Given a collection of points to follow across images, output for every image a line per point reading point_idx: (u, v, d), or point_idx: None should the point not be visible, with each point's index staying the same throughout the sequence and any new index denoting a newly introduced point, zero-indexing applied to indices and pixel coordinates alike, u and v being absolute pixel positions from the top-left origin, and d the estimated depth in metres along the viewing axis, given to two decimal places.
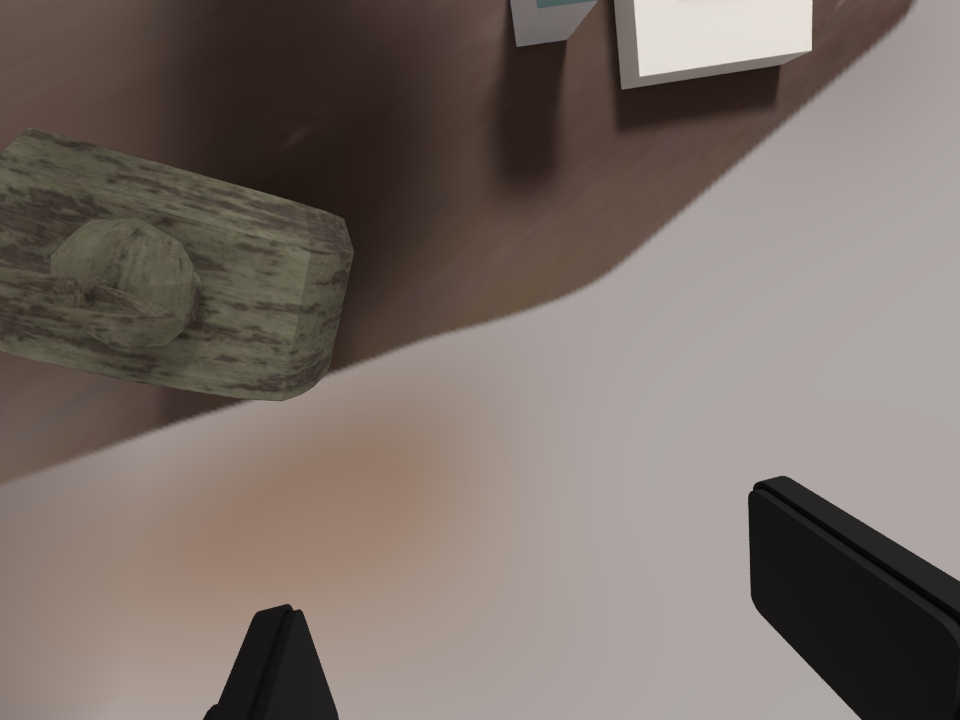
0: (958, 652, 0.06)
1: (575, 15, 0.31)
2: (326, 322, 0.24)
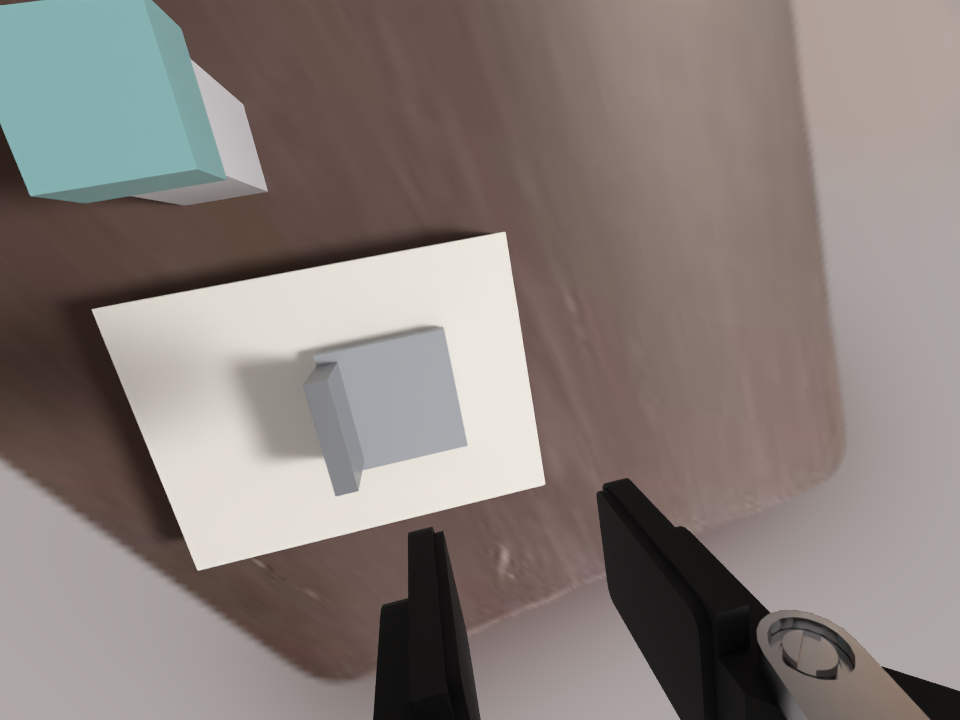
0: (697, 632, 0.07)
1: None
2: None
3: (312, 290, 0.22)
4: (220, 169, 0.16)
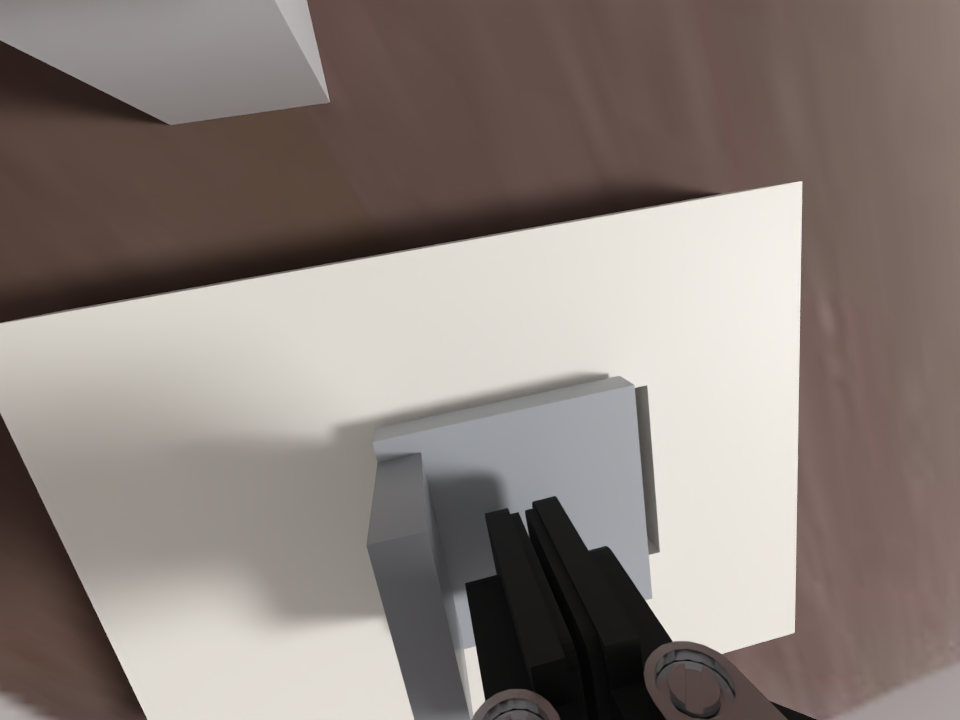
0: (589, 663, 0.07)
1: None
2: None
3: (427, 293, 0.11)
4: None
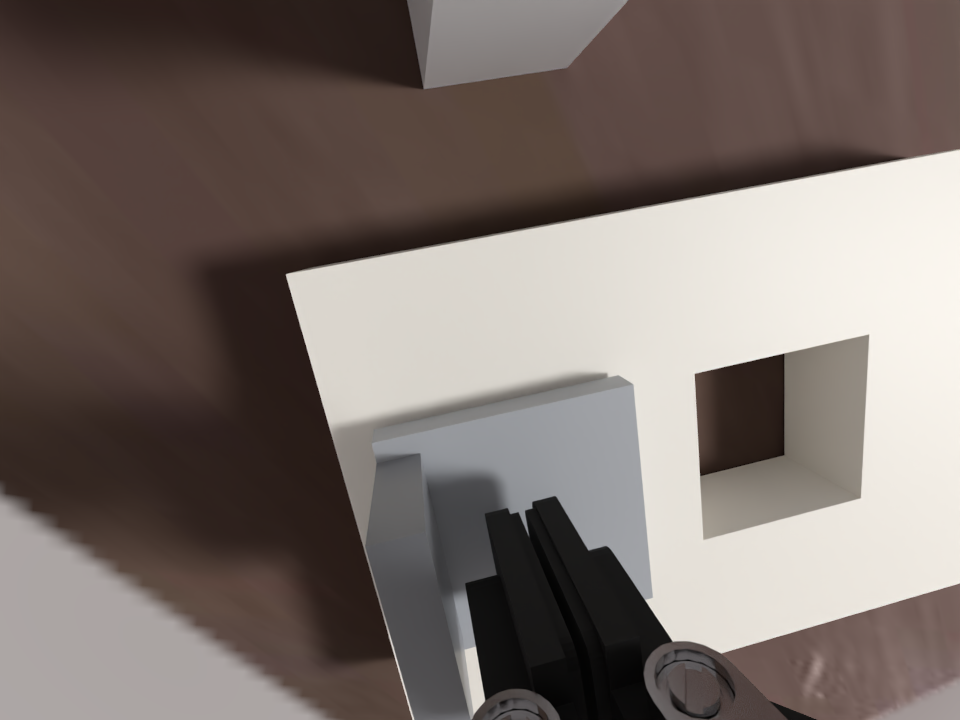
0: (589, 663, 0.07)
1: None
2: None
3: (689, 242, 0.11)
4: None
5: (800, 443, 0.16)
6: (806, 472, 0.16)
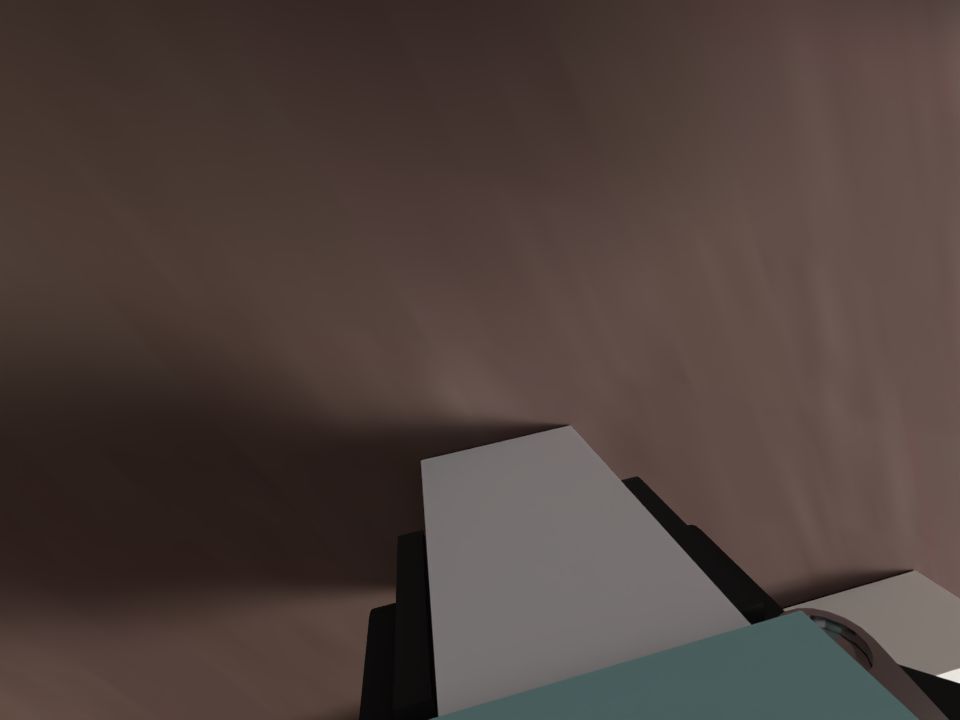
0: None
1: None
2: None
3: None
4: None
5: None
6: None
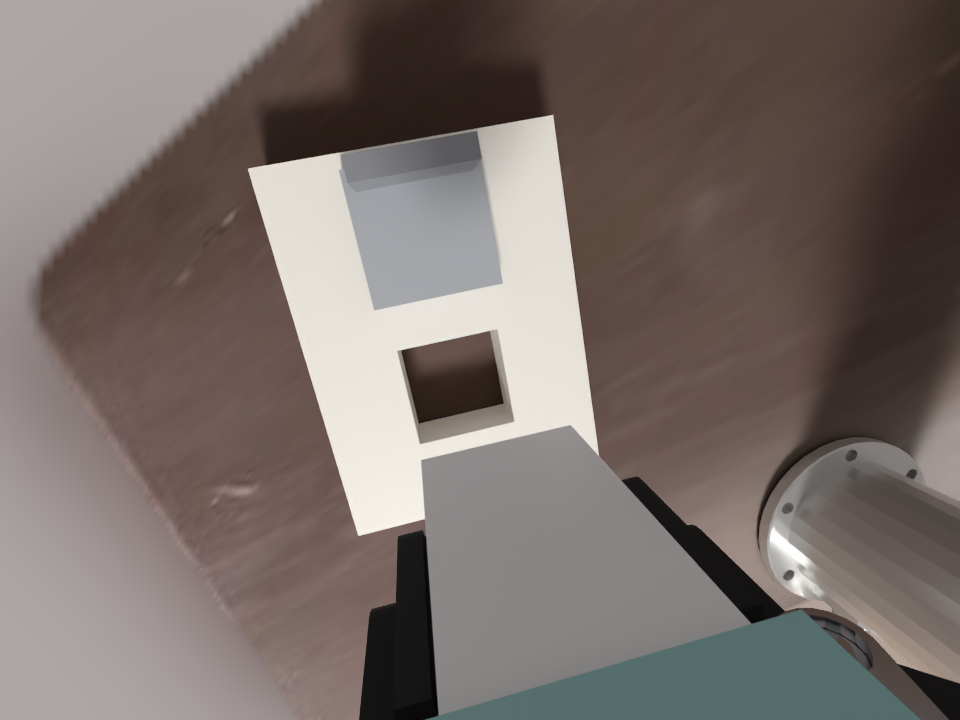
0: None
1: None
2: None
3: (561, 316, 0.24)
4: None
5: (432, 424, 0.27)
6: (418, 427, 0.26)
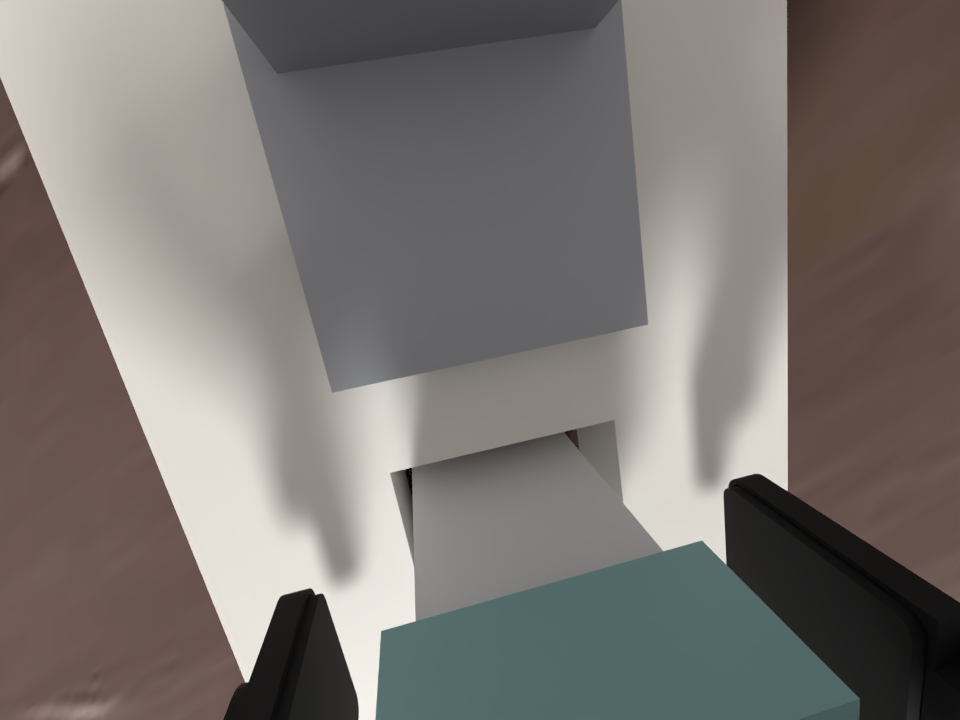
0: (911, 642, 0.06)
1: None
2: None
3: (749, 389, 0.11)
4: None
5: None
6: None
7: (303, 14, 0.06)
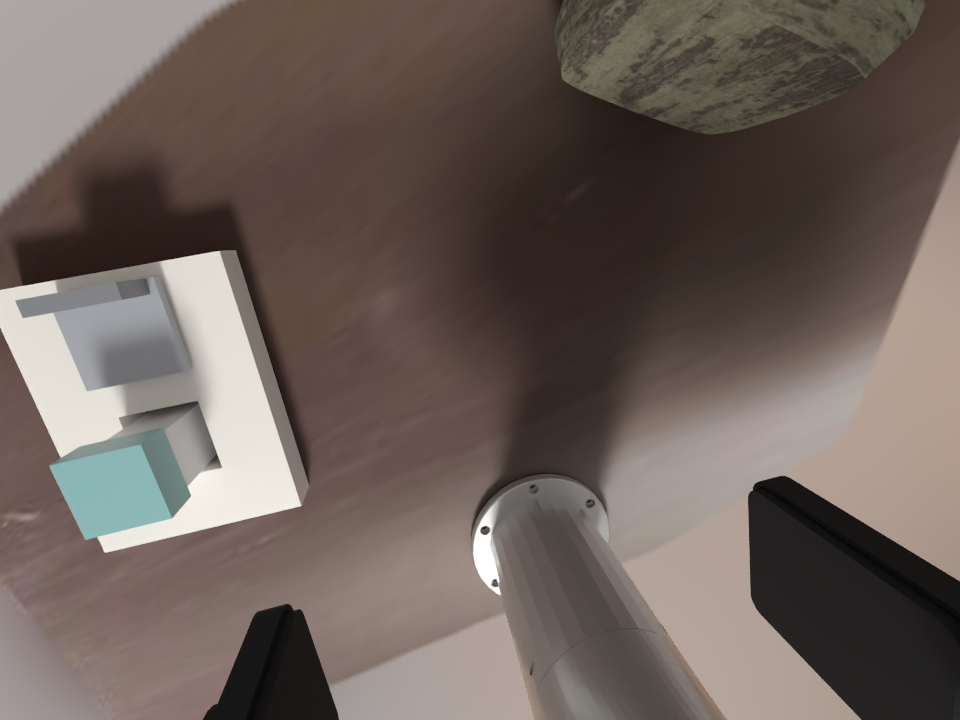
0: (958, 652, 0.06)
1: None
2: None
3: (248, 390, 0.32)
4: (186, 494, 0.29)
5: None
6: None
7: None
